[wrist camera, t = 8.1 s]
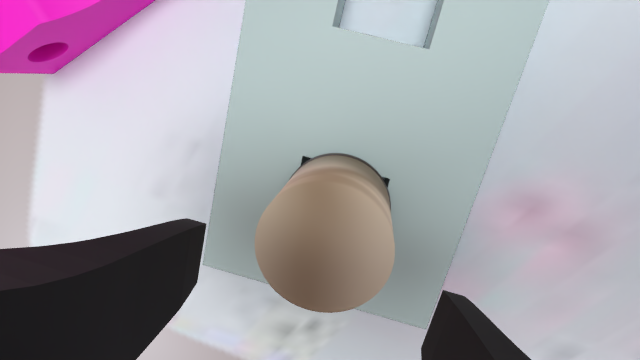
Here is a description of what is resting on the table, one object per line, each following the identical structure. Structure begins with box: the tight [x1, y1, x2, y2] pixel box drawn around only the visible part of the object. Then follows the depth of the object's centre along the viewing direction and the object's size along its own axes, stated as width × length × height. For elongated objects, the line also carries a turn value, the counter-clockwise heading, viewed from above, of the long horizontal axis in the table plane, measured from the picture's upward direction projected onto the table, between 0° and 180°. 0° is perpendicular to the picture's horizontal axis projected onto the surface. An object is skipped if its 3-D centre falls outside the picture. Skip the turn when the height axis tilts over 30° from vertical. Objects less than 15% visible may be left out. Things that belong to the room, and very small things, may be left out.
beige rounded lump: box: [255, 153, 395, 313], centre depth 17 cm, size 5×5×7 cm
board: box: [203, 0, 549, 329], centre depth 18 cm, size 12×20×2 cm, turn 166°
